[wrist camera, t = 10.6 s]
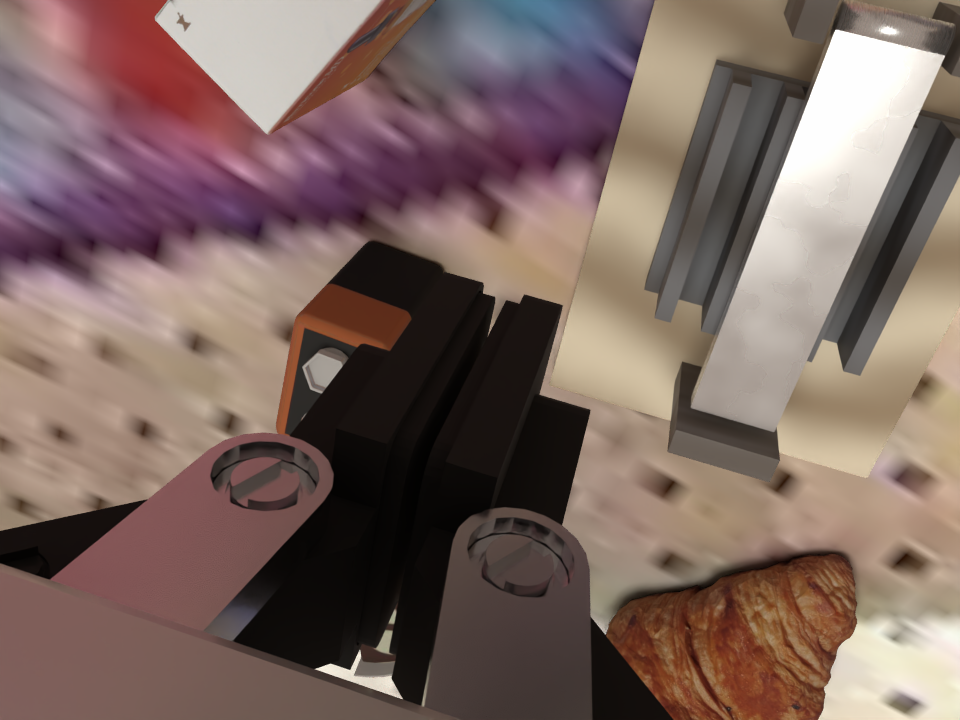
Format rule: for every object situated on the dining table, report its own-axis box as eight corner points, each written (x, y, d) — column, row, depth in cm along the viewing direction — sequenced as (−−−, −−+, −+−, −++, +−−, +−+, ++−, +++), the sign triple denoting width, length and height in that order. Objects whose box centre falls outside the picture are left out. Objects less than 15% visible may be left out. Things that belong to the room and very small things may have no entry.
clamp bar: (843, -4, 30) (847, 0, 29) (951, 21, 29) (959, 27, 28) (691, 394, 38) (690, 409, 37) (772, 418, 38) (774, 433, 37)
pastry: (571, 530, 51) (547, 632, 44) (857, 546, 47) (879, 662, 40) (590, 729, 59) (572, 842, 52) (837, 758, 55) (852, 885, 48)
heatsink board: (698, -156, 33) (692, -160, 27) (1138, -60, 31) (1242, -40, 25) (554, 370, 46) (526, 452, 39) (862, 460, 44) (885, 561, 38)
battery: (448, 264, 44) (382, 359, 36) (417, 372, 48) (351, 481, 39) (367, 235, 45) (283, 322, 36) (343, 345, 48) (262, 447, 40)
